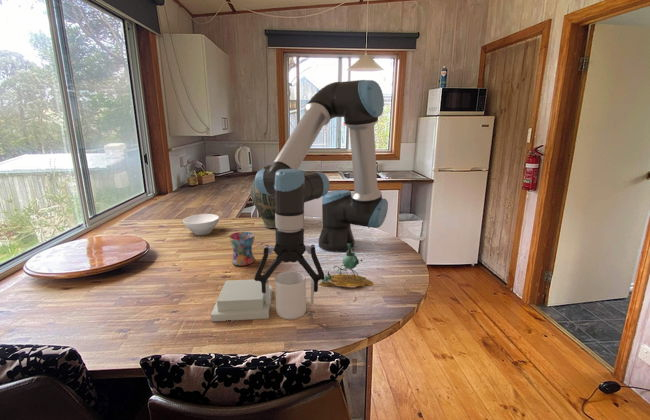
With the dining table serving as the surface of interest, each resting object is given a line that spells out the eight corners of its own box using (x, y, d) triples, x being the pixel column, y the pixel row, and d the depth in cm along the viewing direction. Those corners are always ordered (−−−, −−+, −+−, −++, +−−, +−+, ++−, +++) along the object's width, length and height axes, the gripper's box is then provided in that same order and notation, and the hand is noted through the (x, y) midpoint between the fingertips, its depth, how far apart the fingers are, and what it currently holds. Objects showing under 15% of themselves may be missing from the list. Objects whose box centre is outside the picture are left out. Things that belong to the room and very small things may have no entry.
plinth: (272, 291, 106) (271, 276, 104) (268, 318, 91) (267, 301, 90) (223, 293, 105) (221, 278, 103) (211, 321, 90) (209, 304, 89)
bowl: (227, 230, 163) (226, 216, 162) (199, 240, 150) (197, 225, 149) (205, 225, 172) (204, 212, 170) (177, 234, 159) (175, 220, 157)
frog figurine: (320, 275, 117) (325, 234, 113) (373, 283, 115) (379, 242, 111) (317, 288, 107) (321, 244, 104) (374, 297, 106) (381, 252, 102)
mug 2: (284, 296, 103) (283, 264, 100) (311, 298, 101) (311, 266, 99) (272, 318, 91) (270, 283, 89) (302, 321, 90) (301, 286, 87)
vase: (261, 219, 182) (258, 163, 174) (302, 220, 179) (300, 163, 171) (246, 232, 160) (241, 169, 153) (292, 234, 157) (290, 169, 150)
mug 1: (246, 269, 121) (244, 241, 119) (225, 265, 125) (222, 237, 122) (265, 257, 132) (263, 231, 129) (245, 253, 136) (243, 228, 133)
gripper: (333, 223, 95) (331, 294, 100) (245, 224, 93) (248, 296, 98) (336, 232, 87) (334, 308, 93) (241, 232, 85) (244, 310, 91)
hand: (290, 302), depth 95 cm, fingers open, 12 cm apart
